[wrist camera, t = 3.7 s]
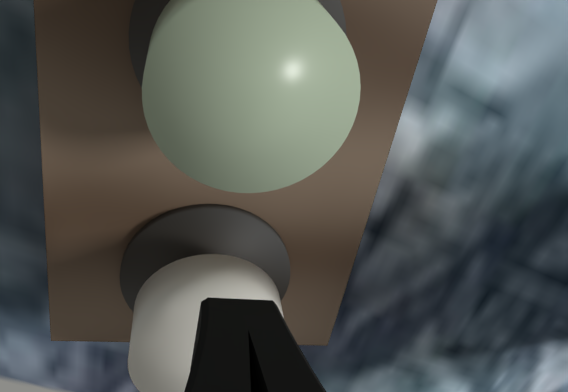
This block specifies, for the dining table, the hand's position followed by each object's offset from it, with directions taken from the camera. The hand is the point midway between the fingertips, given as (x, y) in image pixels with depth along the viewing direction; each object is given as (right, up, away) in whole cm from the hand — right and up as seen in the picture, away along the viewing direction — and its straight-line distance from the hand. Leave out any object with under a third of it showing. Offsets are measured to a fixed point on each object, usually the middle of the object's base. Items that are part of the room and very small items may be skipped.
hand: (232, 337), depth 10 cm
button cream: (-1, 0, +5) cm, 5 cm away
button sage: (0, +5, +1) cm, 6 cm away
